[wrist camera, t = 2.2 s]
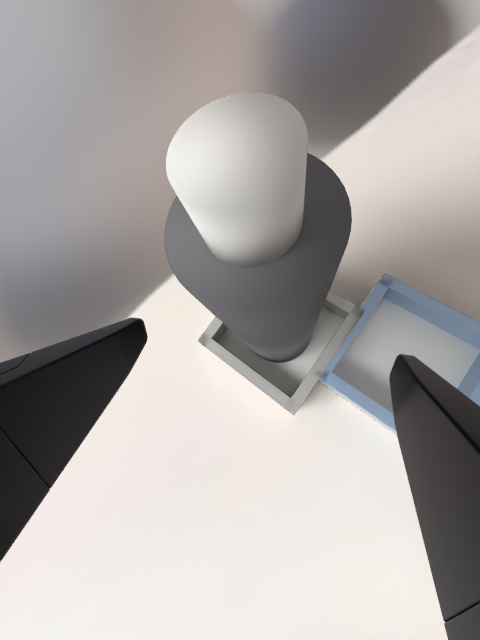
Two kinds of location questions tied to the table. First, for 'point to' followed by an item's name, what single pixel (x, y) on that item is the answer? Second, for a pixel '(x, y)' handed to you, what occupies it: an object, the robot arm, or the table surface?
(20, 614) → the table surface
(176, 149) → the gray bottle
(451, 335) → the divided tray
